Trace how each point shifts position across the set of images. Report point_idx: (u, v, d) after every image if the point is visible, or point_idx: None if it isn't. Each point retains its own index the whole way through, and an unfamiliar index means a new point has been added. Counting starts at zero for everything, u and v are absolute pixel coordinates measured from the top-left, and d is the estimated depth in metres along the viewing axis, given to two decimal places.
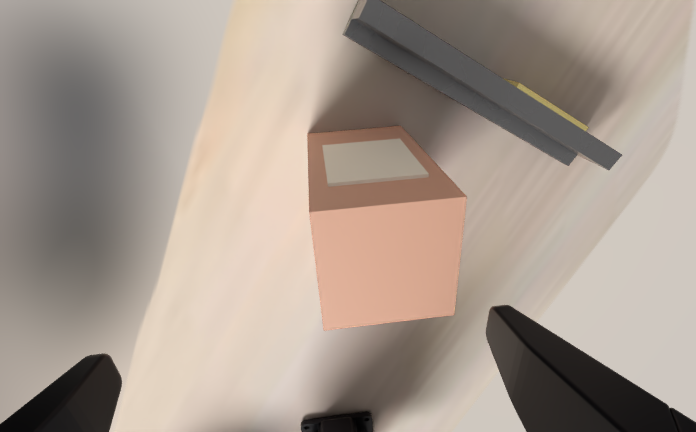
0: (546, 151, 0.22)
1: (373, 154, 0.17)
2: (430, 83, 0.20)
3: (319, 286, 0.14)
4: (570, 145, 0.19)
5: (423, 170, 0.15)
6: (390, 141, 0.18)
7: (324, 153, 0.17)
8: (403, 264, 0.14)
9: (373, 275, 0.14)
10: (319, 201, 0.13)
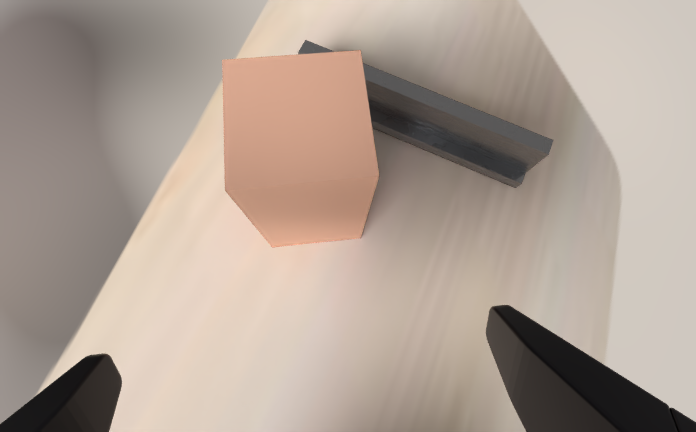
0: (492, 169, 0.23)
1: None
2: None
3: (225, 132, 0.13)
4: (497, 132, 0.21)
5: None
6: None
7: None
8: (311, 110, 0.14)
9: (281, 122, 0.14)
10: None
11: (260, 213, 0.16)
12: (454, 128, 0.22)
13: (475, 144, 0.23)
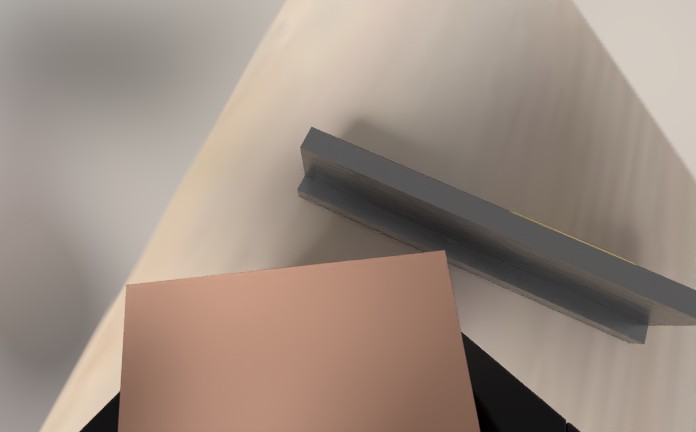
0: (598, 321, 0.15)
1: None
2: (405, 235, 0.16)
3: None
4: (624, 286, 0.13)
5: None
6: None
7: None
8: (336, 430, 0.06)
9: None
10: None
11: None
12: (545, 266, 0.14)
13: (574, 286, 0.15)
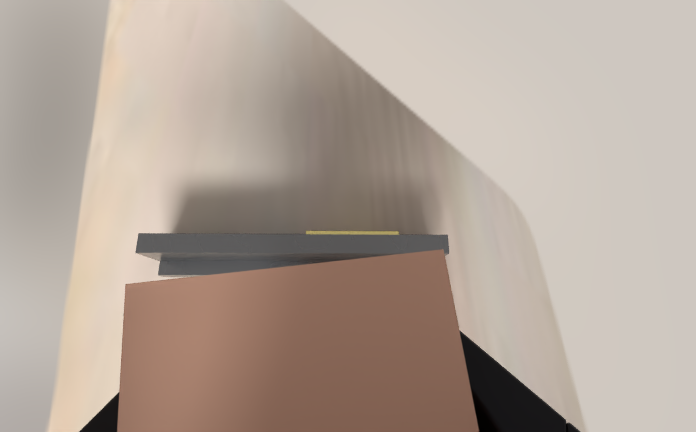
0: None
1: None
2: None
3: None
4: (389, 252, 0.19)
5: None
6: None
7: None
8: (335, 428, 0.06)
9: None
10: None
11: None
12: (345, 257, 0.20)
13: None
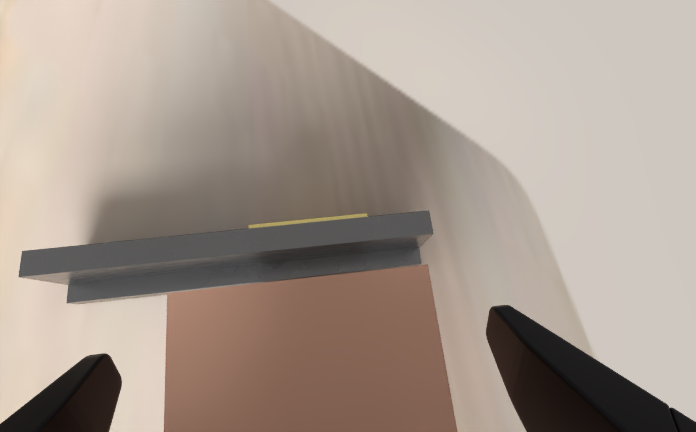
0: (379, 266, 0.17)
1: None
2: (187, 287, 0.16)
3: None
4: (356, 240, 0.15)
5: None
6: None
7: None
8: (338, 409, 0.07)
9: None
10: None
11: None
12: (302, 253, 0.16)
13: (341, 252, 0.16)
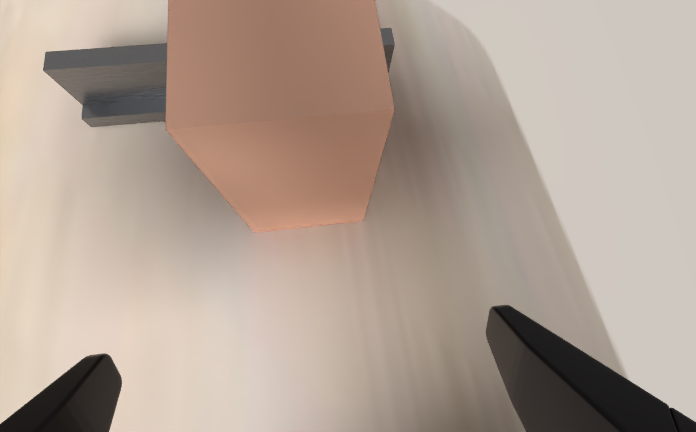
0: None
1: None
2: None
3: (169, 49, 0.09)
4: None
5: None
6: None
7: None
8: (295, 21, 0.10)
9: (252, 36, 0.09)
10: None
11: (229, 176, 0.12)
12: None
13: None
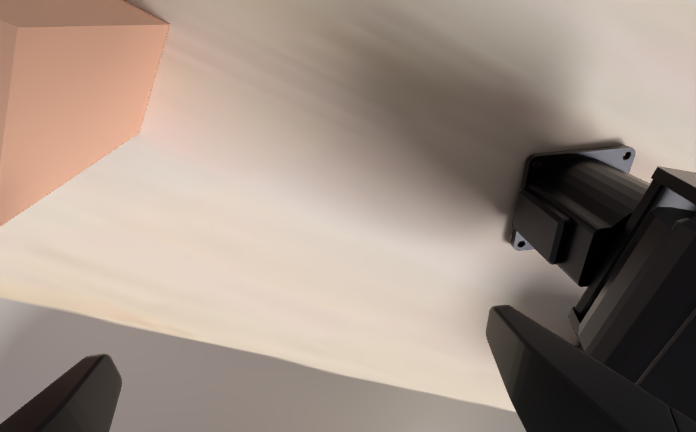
0: None
1: None
2: None
3: None
4: None
5: None
6: None
7: None
8: None
9: None
10: None
11: (61, 170, 0.12)
12: None
13: None
